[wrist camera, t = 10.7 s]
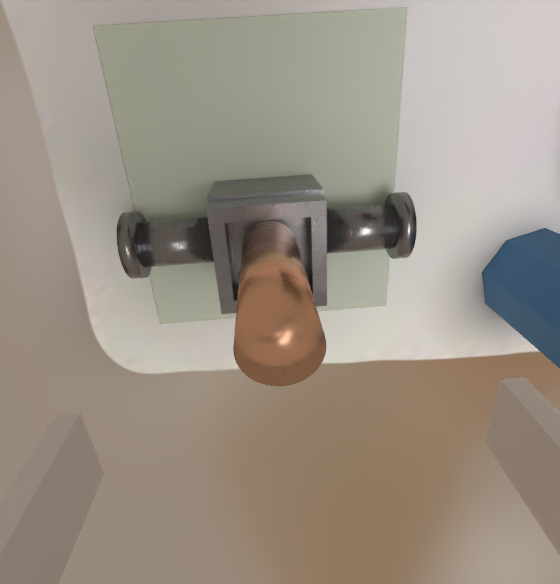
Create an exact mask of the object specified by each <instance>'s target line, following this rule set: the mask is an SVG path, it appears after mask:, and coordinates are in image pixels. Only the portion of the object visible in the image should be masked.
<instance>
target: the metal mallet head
mask: <svg viewBox="0 0 560 584" xmlns="http://www.w3.org/2000/svg"><path fill="white" fill-rule="evenodd" d="M207 200H208V206H207V209H206V210H207V217H199V218H185V219H171V220H157V221H146V219H145V217H144V216H143V214H142V213H141V212H138V211H137V212H124V213H122V214H121V216H120V218H119V221H118V225H117V245H118V251H119V256H120V260H121V263H122V266H123V268H124V270H125V272H126V274H127V275H128V276H129V277H130V278H145V277H148V276H149V275H150V273H151V269H152V267H157V266H170V265H184V264H197V263H210V262H214V266H215V273H216V280H217V287H218V294H219V301H220V307H221V314H230V313H237V302H238V290H239V279H240V267H241V256H242V244H243V240H244V237H245V235H246V233H247V232H248V231H249V230H250V229H251V228H252V227H253V226H254V225H256V224H258V223H261V222H265V221H275V222H279V223H282V224H284V225H285V226H287V227H288V228H289V229H290V230H291V231H292V233H293V234H294V236H295V238H296V241H297V245H298V248H299V252H300V255H301V258H302V262H303V265H304V268H305V272H306V275H307V278H308V282H309V285H310V288H311V292H312V295H313V299H314V302H315V305H316V307H318V306H327V254H329V253H342V252H355V251H368V250H382V249H386V251H387V253H388V255H389V256H390V257H391V258H406V257H408V256H409V255H410V254H411V253H412V251H413V248H414V244H415V239H416V213H415V208H414V204H413V201H412V199H411V197H410V196H409V194H408V193H406V192H401V193H391V194H389V195H388V196H387V198H386V201H385V204H378V205H364V206H350V207H336V208H327V200H326V199H325V197H324V195H323V188H322V186H321V185H320V184H319V183H318V181H317V180H316V179H315V178H314V176H313V175H312V174H309V175H295V176H280V177H266V178H252V179H238V180H224V181H215V182H214V184H213V186H212V188H211V190H210V192H209V194H208V196H207Z"/></svg>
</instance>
